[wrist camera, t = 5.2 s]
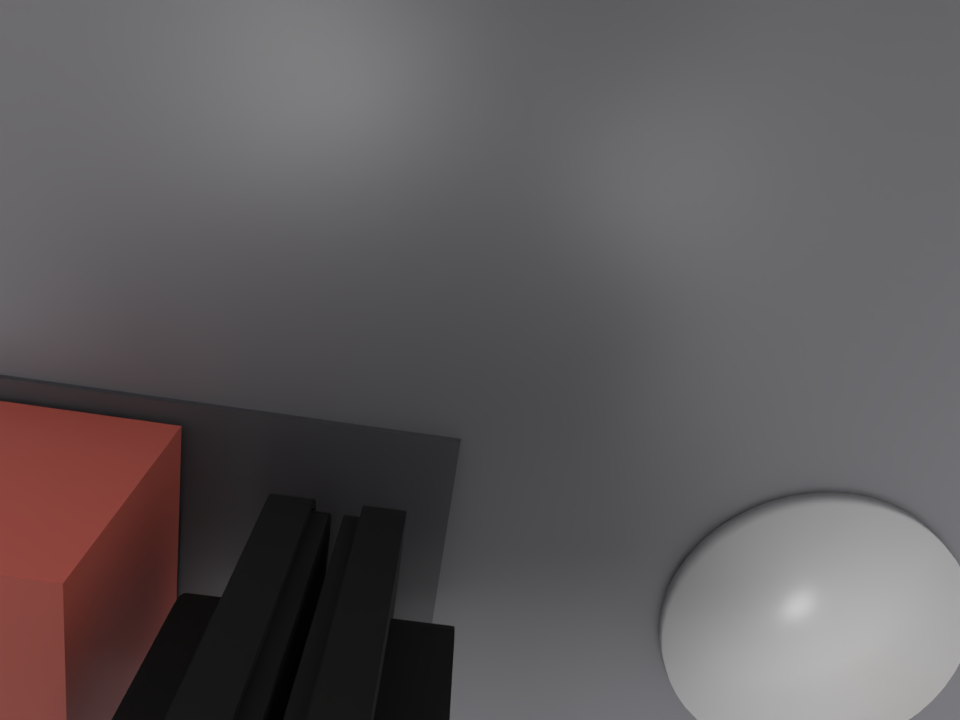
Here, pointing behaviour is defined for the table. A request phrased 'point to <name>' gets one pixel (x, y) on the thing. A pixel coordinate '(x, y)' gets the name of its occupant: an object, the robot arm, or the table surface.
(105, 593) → the red switch
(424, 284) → the switch panel
